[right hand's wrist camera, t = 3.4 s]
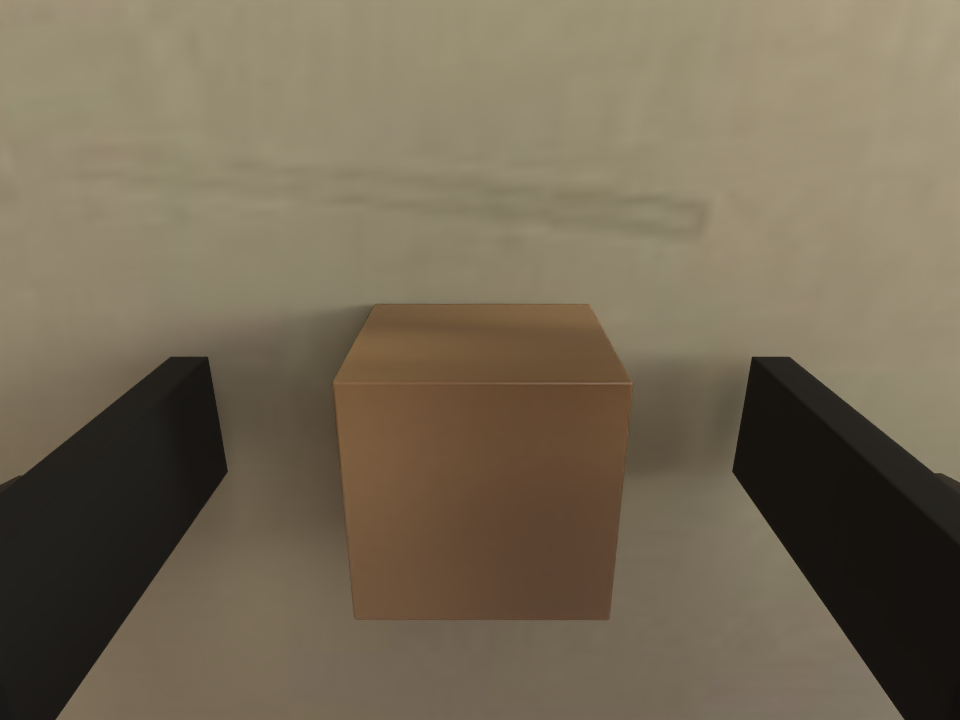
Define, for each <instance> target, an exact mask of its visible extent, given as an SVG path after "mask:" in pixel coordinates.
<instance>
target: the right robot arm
mask: <svg viewBox="0 0 960 720" xmlns="http://www.w3.org/2000/svg"><path fill="white" fill-rule="evenodd" d="M227 472H228V470H227V464H226V459H225V453H224V447H223V441H222V436H221V430H220V424H219V418H218V412H217V407H216V401H215V395H214V389H213V384H212V378H211V372H210V366H209V360H208V357H170V358H169V359H167V360H166V361H165V362H164V363H162V364H161V365H160V366H159V367H158V368H156V369H155V370H154V371H153V372H151V373H150V374H149V375H148V376H146V377H145V378H144V379H143V380H141V381H140V382H139V383H138V384H136V385H135V386H134V387H133V388H131V389H130V390H129V391H128V392H126V393H125V394H124V395H123V396H121V397H120V398H119V399H118V400H116V401H115V402H114V403H113V404H111V405H110V406H109V407H108V408H106V409H105V410H104V411H103V412H101V413H100V414H99V415H98V416H97V417H95V418H94V419H93V420H92V421H90V422H89V423H88V424H87V425H85V426H84V427H83V428H82V429H80V430H79V431H78V432H77V433H75V434H74V435H73V436H72V437H70V438H69V439H68V440H67V441H65V442H64V443H63V444H62V445H60V446H59V447H58V448H57V449H55V450H54V451H53V452H52V453H50V454H49V455H48V456H47V457H45V458H44V459H43V460H42V461H40V462H39V463H38V464H37V465H35V466H34V467H33V468H32V469H31V470H29V471H28V472H27V473H26V474H24V475H23V476H17V477H15V478H13V479H11V480H9V481H7V482H5V483H3V484H1V485H0V720H56V718H57V717H58V715H59V714H60V713H61V711H62V710H63V708H64V707H65V705H66V704H67V702H68V701H69V700H70V698H71V697H72V695H73V694H74V692H75V691H76V689H77V688H78V687H79V685H80V684H81V682H82V681H83V679H84V678H85V677H86V675H87V674H88V672H89V671H90V669H91V668H92V666H93V665H94V664H95V662H96V661H97V659H98V658H99V656H100V655H101V653H102V652H103V651H104V649H105V648H106V646H107V645H108V643H109V642H110V641H111V639H112V638H113V636H114V635H115V633H116V632H117V630H118V629H119V628H120V626H121V625H122V623H123V622H124V620H125V619H126V617H127V616H128V615H129V613H130V612H131V610H132V609H133V607H134V606H135V605H136V603H137V602H138V600H139V599H140V597H141V596H142V594H143V593H144V592H145V590H146V589H147V587H148V586H149V584H150V583H151V582H152V580H153V579H154V577H155V576H156V574H157V573H158V571H159V570H160V569H161V567H162V566H163V564H164V563H165V561H166V560H167V558H168V557H169V556H170V554H171V553H172V551H173V550H174V548H175V547H176V546H177V544H178V543H179V541H180V540H181V538H182V537H183V535H184V534H185V533H186V531H187V530H188V528H189V527H190V525H191V524H192V522H193V521H194V520H195V518H196V517H197V515H198V514H199V512H200V511H201V510H202V508H203V507H204V505H205V504H206V502H207V501H208V499H209V498H210V497H211V495H212V494H213V492H214V491H215V489H216V488H217V486H218V485H219V484H220V482H221V481H222V479H223V478H224V476H225V475H226V474H227ZM732 472H733V473H734V475H735V476H736V478H737V479H738V481H739V482H740V484H741V485H742V486H743V488H744V489H745V491H746V492H747V494H748V495H749V497H750V498H751V499H752V501H753V502H754V504H755V505H756V507H757V508H758V509H759V511H760V512H761V514H762V515H763V517H764V518H765V520H766V521H767V522H768V524H769V525H770V527H771V528H772V530H773V531H774V533H775V534H776V535H777V537H778V538H779V540H780V541H781V543H782V544H783V545H784V547H785V548H786V550H787V551H788V553H789V554H790V556H791V557H792V558H793V560H794V561H795V563H796V564H797V566H798V567H799V569H800V570H801V571H802V573H803V574H804V576H805V577H806V579H807V580H808V581H809V583H810V584H811V586H812V587H813V589H814V590H815V592H816V593H817V594H818V596H819V597H820V599H821V600H822V602H823V603H824V605H825V606H826V607H827V609H828V610H829V612H830V613H831V615H832V616H833V617H834V619H835V620H836V622H837V623H838V625H839V626H840V628H841V629H842V630H843V632H844V633H845V635H846V636H847V638H848V639H849V641H850V642H851V643H852V645H853V646H854V648H855V649H856V651H857V652H858V653H859V655H860V656H861V658H862V659H863V661H864V662H865V664H866V665H867V666H868V668H869V669H870V671H871V672H872V674H873V675H874V677H875V678H876V679H877V681H878V682H879V684H880V685H881V687H882V688H883V689H884V691H885V692H886V694H887V695H888V697H889V698H890V700H891V701H892V702H893V704H894V705H895V707H896V708H897V710H898V711H899V713H900V714H901V715H902V717H903V718H904V720H960V482H958V481H956V480H954V479H952V478H950V477H948V476H946V475H944V474H942V473H933V472H932V471H931V470H930V469H928V468H927V467H926V466H925V465H923V464H922V463H921V462H920V461H918V460H917V459H916V458H915V457H913V456H912V455H911V454H910V453H908V452H907V451H906V450H905V449H903V448H902V447H901V446H900V445H898V444H897V443H896V442H895V441H893V440H892V439H891V438H890V437H888V436H887V435H886V434H885V433H883V432H882V431H881V430H880V429H878V428H877V427H876V426H875V425H873V424H872V423H871V422H870V421H868V420H867V419H866V418H865V417H864V416H862V415H861V414H860V413H859V412H857V411H856V410H855V409H854V408H852V407H851V406H850V405H849V404H847V403H846V402H845V401H844V400H842V399H841V398H840V397H839V396H837V395H836V394H835V393H834V392H832V391H831V390H830V389H829V388H827V387H826V386H825V385H824V384H822V383H821V382H820V381H819V380H817V379H816V378H815V377H814V376H812V375H811V374H810V373H809V372H807V371H806V370H805V369H804V368H802V367H801V366H800V365H799V364H798V363H796V362H795V361H794V360H793V359H791V358H790V357H752V361H751V366H750V372H749V378H748V384H747V389H746V395H745V401H744V407H743V413H742V418H741V424H740V430H739V436H738V441H737V447H736V453H735V459H734V464H733V470H732Z"/></svg>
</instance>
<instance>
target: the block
mask: <svg viewBox="0 0 960 720" xmlns="http://www.w3.org/2000/svg"><path fill="white" fill-rule="evenodd" d="M632 388H633V383H632V381H631V379H630V377H629V375H628V374H627V372H626V370H625V368H624V366H623V365H622V363H621V361H620V359H619V357H618V355H617V354H616V352H615V350H614V348H613V346H612V345H611V343H610V341H609V339H608V337H607V336H606V334H605V332H604V330H603V328H602V326H601V325H600V323H599V321H598V319H597V317H596V316H595V314H594V312H593V310H592V308H591V306H590V305H588V304H376V305H374V307H373V309H372V311H371V312H370V314H369V316H368V318H367V320H366V322H365V323H364V325H363V327H362V329H361V331H360V333H359V334H358V336H357V338H356V340H355V342H354V344H353V345H352V347H351V349H350V351H349V353H348V355H347V356H346V358H345V360H344V362H343V364H342V365H341V367H340V369H339V371H338V373H337V375H336V376H335V378H334V380H333V382H332V390H333V401H334V411H335V422H336V432H337V443H338V453H339V463H340V474H341V484H342V495H343V505H344V516H345V526H346V537H347V547H348V558H349V568H350V578H351V589H352V599H353V610H354V618H355V619H357V620H609V618H610V611H611V600H612V590H613V580H614V570H615V560H616V550H617V540H618V530H619V519H620V509H621V499H622V489H623V479H624V469H625V459H626V449H627V438H628V428H629V418H630V408H631V398H632Z"/></svg>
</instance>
